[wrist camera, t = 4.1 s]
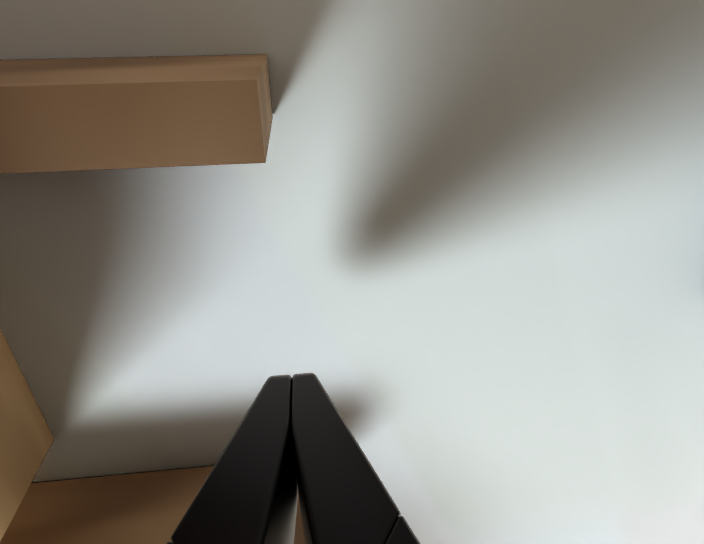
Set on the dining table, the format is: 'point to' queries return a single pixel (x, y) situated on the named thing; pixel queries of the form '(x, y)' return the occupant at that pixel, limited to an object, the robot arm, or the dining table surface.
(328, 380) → the dining table surface
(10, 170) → the channel
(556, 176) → the dining table surface
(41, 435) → the block
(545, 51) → the dining table surface
